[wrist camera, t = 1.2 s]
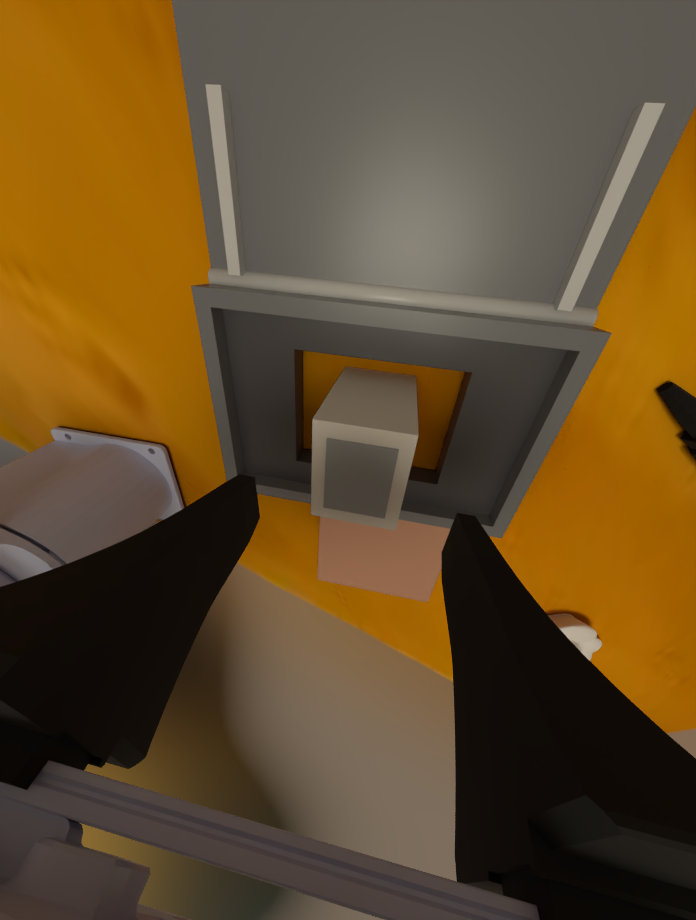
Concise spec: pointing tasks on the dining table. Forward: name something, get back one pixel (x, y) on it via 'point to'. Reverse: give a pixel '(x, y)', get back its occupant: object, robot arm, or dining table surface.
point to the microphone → (682, 411)
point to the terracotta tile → (382, 556)
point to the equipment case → (422, 211)
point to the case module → (364, 447)
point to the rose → (578, 633)
